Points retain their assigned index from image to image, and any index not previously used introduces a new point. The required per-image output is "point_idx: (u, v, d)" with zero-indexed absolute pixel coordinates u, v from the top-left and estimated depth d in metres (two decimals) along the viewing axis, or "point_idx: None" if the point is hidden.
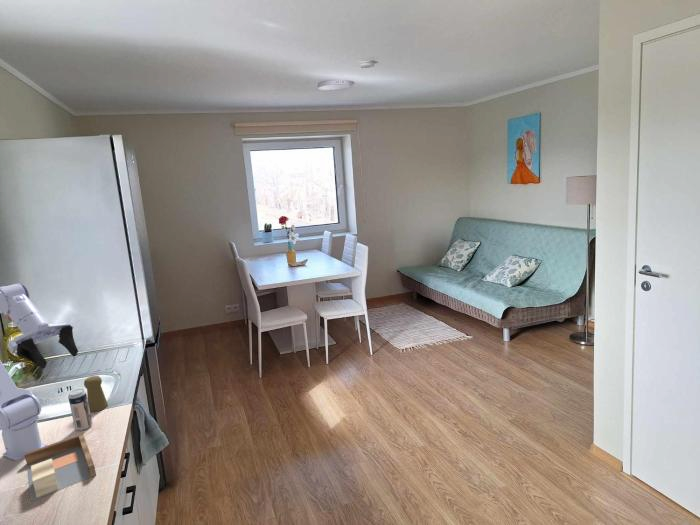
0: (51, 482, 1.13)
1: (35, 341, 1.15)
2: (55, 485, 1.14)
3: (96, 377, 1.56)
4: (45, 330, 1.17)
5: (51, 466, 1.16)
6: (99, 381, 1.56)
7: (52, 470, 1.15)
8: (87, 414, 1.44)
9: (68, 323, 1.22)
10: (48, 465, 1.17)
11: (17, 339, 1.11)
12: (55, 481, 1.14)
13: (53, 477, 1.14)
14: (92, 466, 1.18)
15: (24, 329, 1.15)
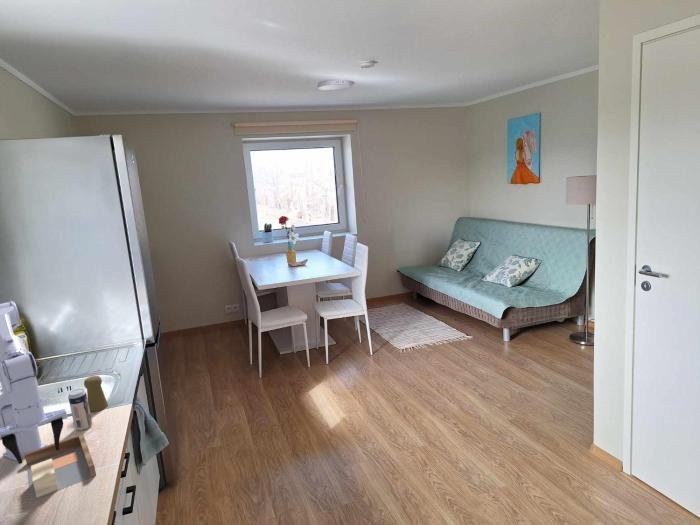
0: (51, 482, 1.13)
1: (22, 431, 1.12)
2: (55, 485, 1.14)
3: (96, 377, 1.56)
4: None
5: (51, 466, 1.16)
6: (99, 381, 1.56)
7: (52, 470, 1.15)
8: (87, 414, 1.44)
9: (63, 414, 1.16)
10: (48, 465, 1.17)
11: (3, 433, 1.09)
12: (55, 481, 1.14)
13: (53, 477, 1.14)
14: (92, 466, 1.18)
15: (15, 418, 1.10)
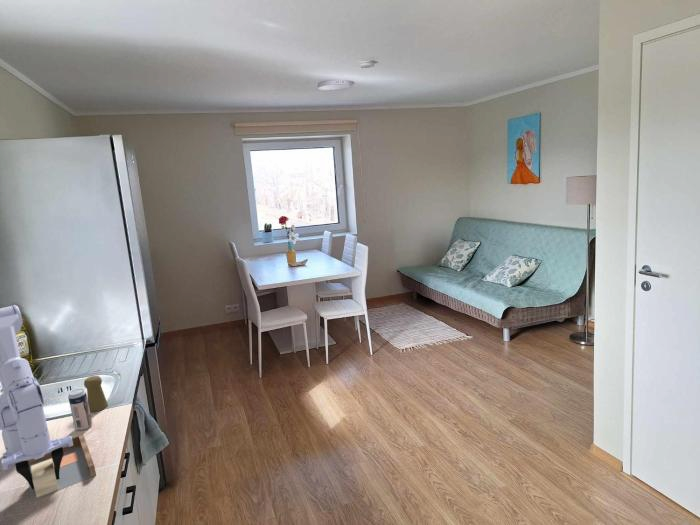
0: (51, 482, 1.13)
1: (29, 459, 1.14)
2: (55, 485, 1.14)
3: (96, 377, 1.56)
4: None
5: (51, 466, 1.16)
6: (99, 381, 1.56)
7: (52, 470, 1.15)
8: (87, 414, 1.44)
9: (69, 441, 1.18)
10: (48, 465, 1.17)
11: (10, 462, 1.10)
12: (55, 481, 1.14)
13: (53, 477, 1.14)
14: (92, 466, 1.18)
15: (22, 447, 1.12)
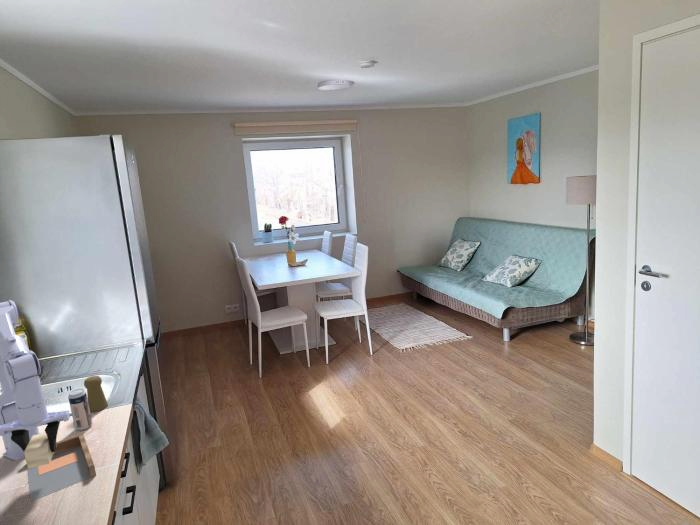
0: (42, 455, 1.13)
1: (26, 428, 1.15)
2: (46, 459, 1.13)
3: (96, 377, 1.56)
4: None
5: (47, 439, 1.16)
6: (99, 381, 1.56)
7: (45, 443, 1.14)
8: (87, 414, 1.44)
9: (64, 416, 1.16)
10: (46, 437, 1.17)
11: (6, 429, 1.12)
12: (46, 455, 1.13)
13: (44, 451, 1.13)
14: (92, 466, 1.18)
15: (18, 416, 1.13)
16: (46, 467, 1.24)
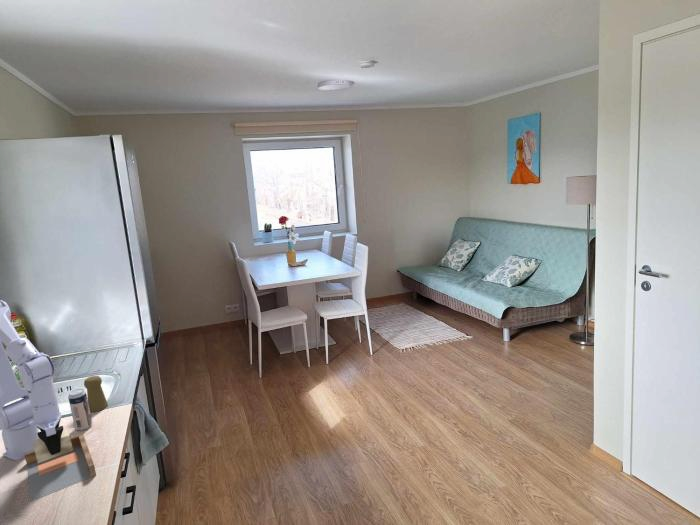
0: (35, 453, 1.21)
1: None
2: None
3: (96, 377, 1.56)
4: None
5: None
6: (99, 381, 1.56)
7: (40, 444, 1.21)
8: (87, 414, 1.44)
9: (45, 430, 1.17)
10: None
11: None
12: (36, 455, 1.20)
13: None
14: (92, 466, 1.18)
15: None
16: (46, 467, 1.24)
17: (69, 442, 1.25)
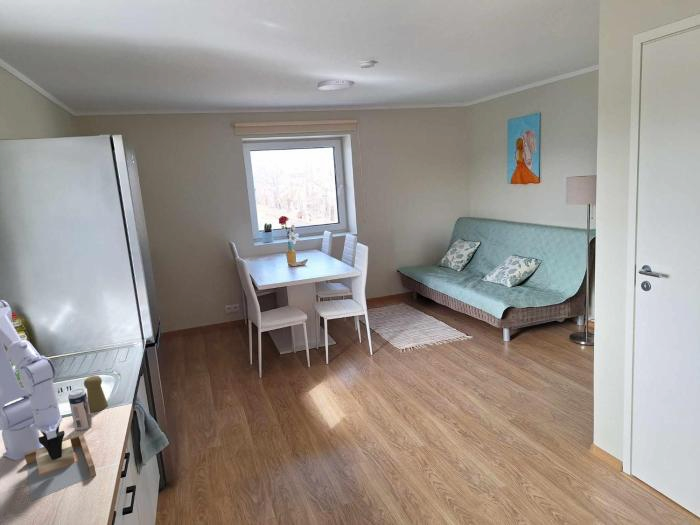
0: None
1: None
2: (38, 468, 1.21)
3: (96, 377, 1.56)
4: None
5: None
6: (99, 381, 1.56)
7: (42, 455, 1.22)
8: (87, 414, 1.44)
9: (46, 433, 1.17)
10: None
11: None
12: None
13: None
14: (92, 466, 1.18)
15: None
16: None
17: (71, 453, 1.25)
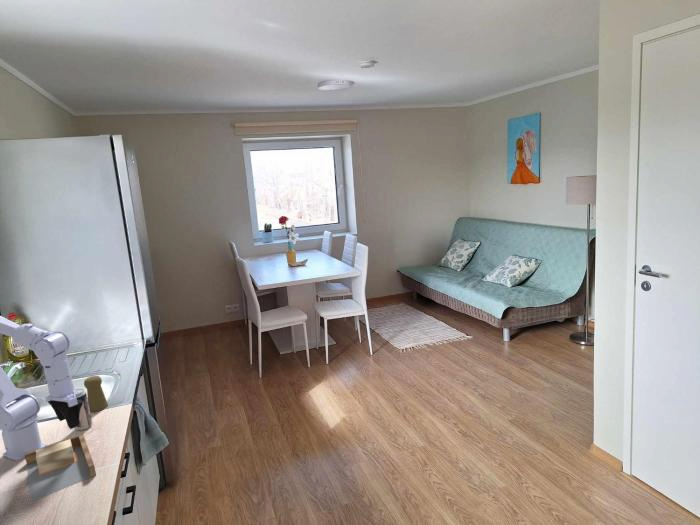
0: None
1: None
2: (38, 468, 1.21)
3: (96, 377, 1.56)
4: None
5: (52, 451, 1.23)
6: (99, 381, 1.56)
7: (42, 455, 1.22)
8: (87, 414, 1.44)
9: (67, 401, 1.23)
10: (57, 449, 1.24)
11: None
12: None
13: None
14: (92, 466, 1.18)
15: None
16: None
17: (71, 453, 1.25)
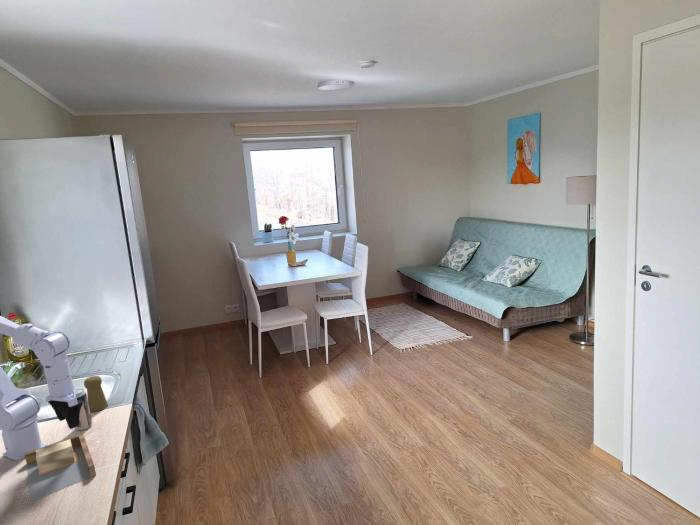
0: None
1: None
2: (38, 468, 1.21)
3: (96, 377, 1.56)
4: None
5: (52, 451, 1.23)
6: (99, 381, 1.56)
7: (42, 455, 1.22)
8: (87, 414, 1.44)
9: (67, 401, 1.23)
10: (57, 449, 1.24)
11: None
12: None
13: None
14: (92, 466, 1.18)
15: None
16: None
17: (71, 453, 1.25)
